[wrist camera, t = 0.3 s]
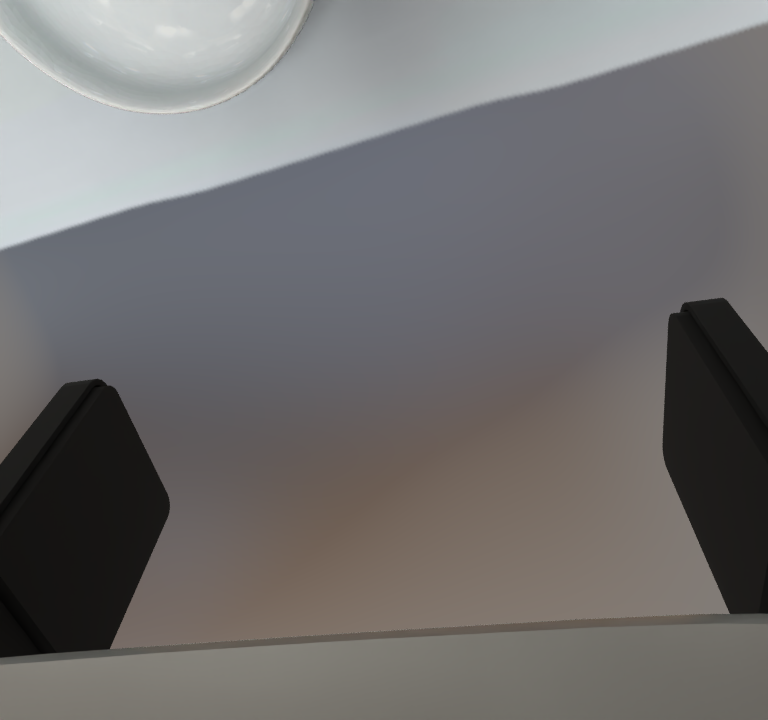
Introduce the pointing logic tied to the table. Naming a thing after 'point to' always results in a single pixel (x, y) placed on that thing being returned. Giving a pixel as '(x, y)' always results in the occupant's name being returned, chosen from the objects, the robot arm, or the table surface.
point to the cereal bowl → (154, 47)
